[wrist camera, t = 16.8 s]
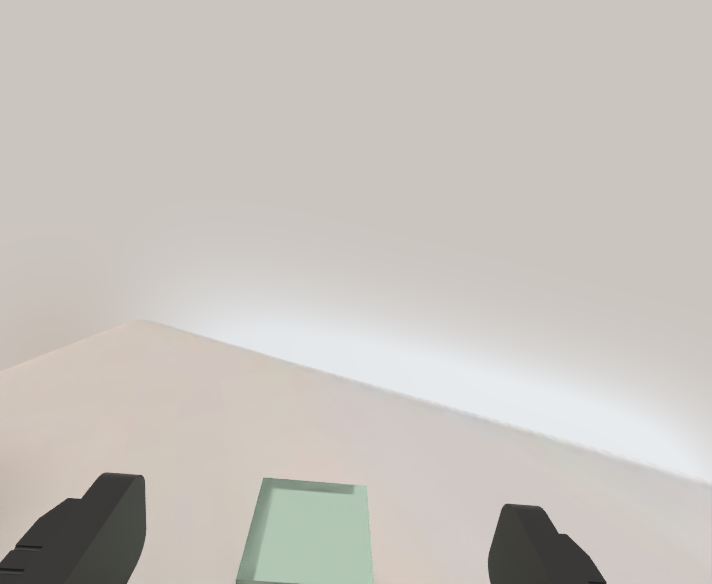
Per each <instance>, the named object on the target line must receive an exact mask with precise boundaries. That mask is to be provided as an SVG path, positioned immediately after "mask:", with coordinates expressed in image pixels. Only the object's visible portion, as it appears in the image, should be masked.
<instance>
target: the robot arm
mask: <svg viewBox="0 0 712 584" xmlns="http://www.w3.org/2000/svg"><path fill="white" fill-rule="evenodd" d="M145 536H146V505H145V480H144V477H143V476H142V475H133V474H119V473H103V474H102V475H100V476H99V477H98V478H97V480H96V481H95V482H94V483H93V485H92V486H91V487H90V488H89V490H88V491H87V492H86V493H85V495H84V496H83V497H82V498H81V499H74V498H67V499H66V500H65V501H63V502H62V503H60V504H59V505H57V506H56V507H55V508H53V509H52V510H50V511H49V512H48V513H46V514H45V515H43V516H42V517H40V518H39V519H38V520H37V521H36V522H35V523H34V525H33V526H32V527H31V528H30V529H29V530H28V531H27V533H26V534H25V535H24V536H23V537H22V538H21V539H20V541H19V542H18V543H17V544H16V547H15V549H14V550H11V551H10V552H9V553H8V554H7V555H6V557H5V558H4V559H3V560H2V561H1V562H0V584H127V582H128V580H129V578H130V576H131V574H132V572H133V571H134V569H135V567H136V565H137V563H138V560H139V558H140V555H141V552H142V549H143V546H144V541H145ZM488 571H489V578H490V582H491V584H606V581H605V579H604V578H603V576H602V575H601V573H600V572H599V570H598V569H597V567H596V566H595V564H594V563H593V561H592V560H591V558H590V557H589V556H588V555H587V554H586V553H585V552H584V551H583V550H582V549H581V548H580V547H579V546H578V545H577V544H576V543H575V542H574V541H573V540H572V539H571V538H570V537H569V536H568V535H567V534H559V533H558V532H557V530H556V528H555V527H554V525H553V523H552V522H551V520H550V519H549V517H548V515H547V514H546V512H545V511H544V510H543V509H542V508H541V507H539V506H530V505H517V504H505V505H504V506H503V508H502V510H501V513H500V517H499V520H498V524H497V527H496V531H495V534H494V538H493V541H492V545H491V548H490V552H489V557H488Z"/></svg>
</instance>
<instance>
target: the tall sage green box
mask: <svg viewBox="0 0 712 584" xmlns="http://www.w3.org/2000/svg"><path fill="white" fill-rule="evenodd" d="M236 584H374V578H373V564H372V551H371V537H370V524H369V510H368V497H367V486H361V485H348V484H336V483H324V482H311V481H299V480H287V479H274V478H263V481H262V485H261V489H260V492H259V496H258V500H257V504H256V507H255V511H254V515H253V518H252V522H251V526H250V530H249V533H248V537H247V541H246V545H245V548H244V552H243V556H242V560H241V563H240V567H239V571H238V574H237V578H236Z"/></svg>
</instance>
